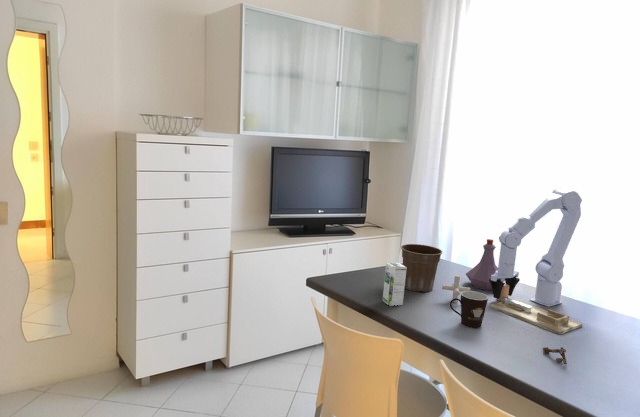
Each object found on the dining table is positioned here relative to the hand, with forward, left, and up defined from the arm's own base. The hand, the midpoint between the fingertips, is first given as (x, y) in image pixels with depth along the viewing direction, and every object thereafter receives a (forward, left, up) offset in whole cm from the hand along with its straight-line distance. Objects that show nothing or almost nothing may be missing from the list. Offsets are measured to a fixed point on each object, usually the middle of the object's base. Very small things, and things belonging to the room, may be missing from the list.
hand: (502, 296), depth 181 cm
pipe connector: (+19, -7, -2) cm, 20 cm away
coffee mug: (+32, +9, -2) cm, 33 cm away
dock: (+4, +16, -1) cm, 17 cm away
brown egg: (0, 0, -2) cm, 2 cm away
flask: (-8, -14, -2) cm, 16 cm away
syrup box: (+42, -16, -2) cm, 45 cm away
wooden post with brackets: (+29, +38, -2) cm, 48 cm away
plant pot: (+20, -25, -2) cm, 32 cm away
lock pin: (+5, +9, 0) cm, 10 cm away
